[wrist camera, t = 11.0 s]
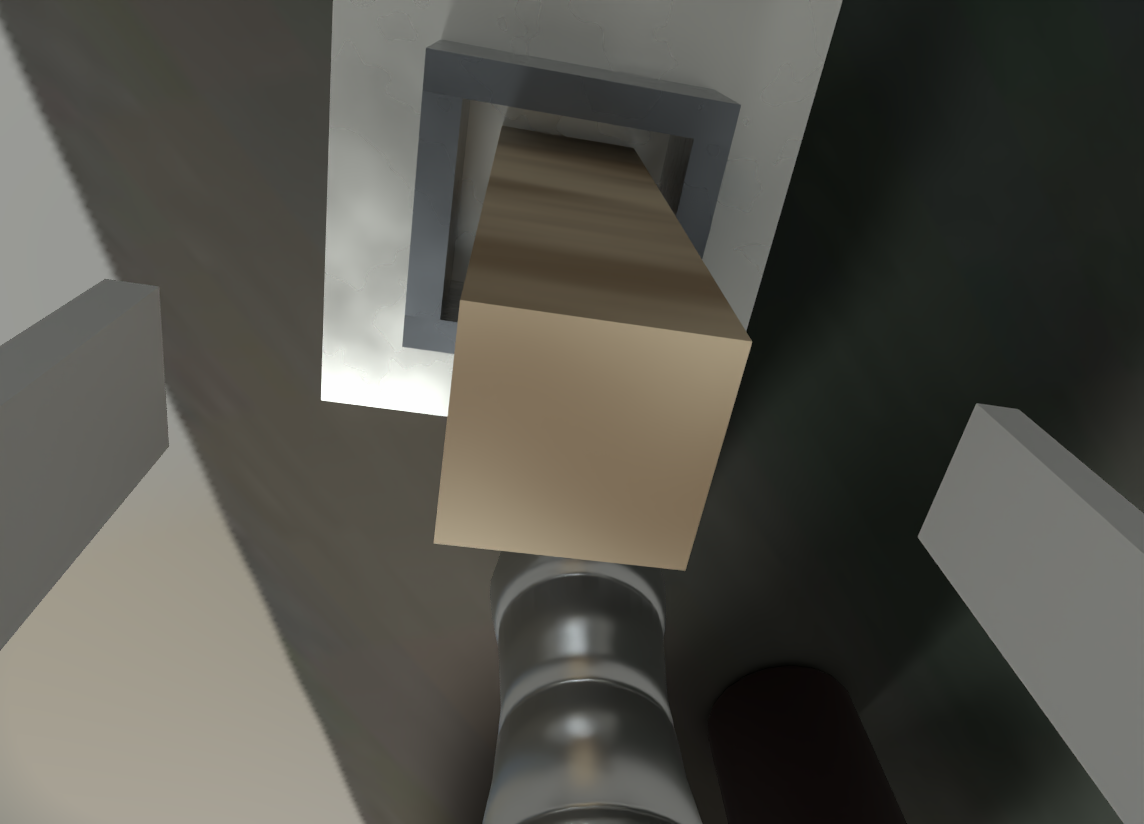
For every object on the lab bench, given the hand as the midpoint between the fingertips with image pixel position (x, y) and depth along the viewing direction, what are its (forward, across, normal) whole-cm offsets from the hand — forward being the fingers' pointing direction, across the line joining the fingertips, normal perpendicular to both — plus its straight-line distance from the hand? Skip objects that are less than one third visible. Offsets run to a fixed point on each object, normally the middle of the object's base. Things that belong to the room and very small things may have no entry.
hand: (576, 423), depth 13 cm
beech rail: (+14, 0, -1) cm, 14 cm away
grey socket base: (+15, 0, -1) cm, 15 cm away
